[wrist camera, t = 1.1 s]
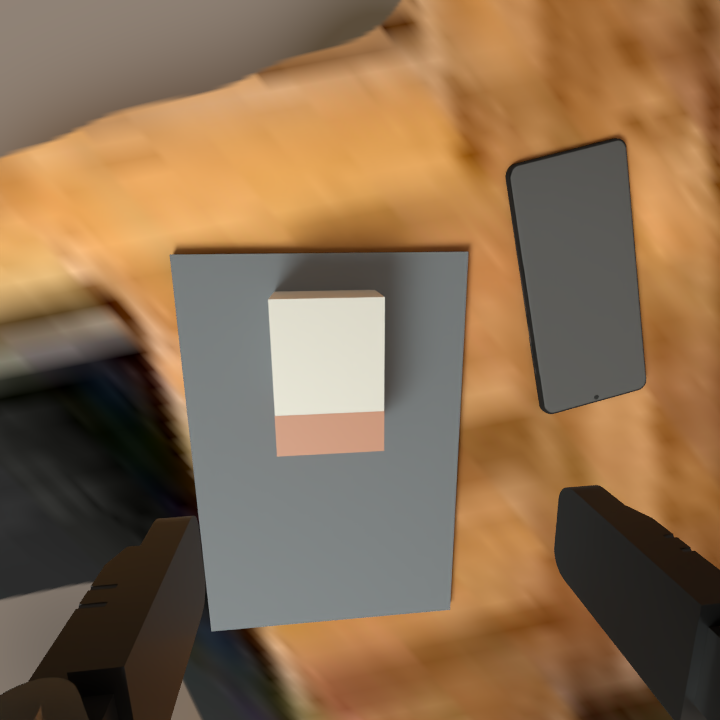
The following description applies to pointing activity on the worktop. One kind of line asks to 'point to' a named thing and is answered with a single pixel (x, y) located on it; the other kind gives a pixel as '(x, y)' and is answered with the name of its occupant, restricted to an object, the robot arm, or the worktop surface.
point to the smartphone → (578, 273)
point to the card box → (328, 371)
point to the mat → (322, 471)
